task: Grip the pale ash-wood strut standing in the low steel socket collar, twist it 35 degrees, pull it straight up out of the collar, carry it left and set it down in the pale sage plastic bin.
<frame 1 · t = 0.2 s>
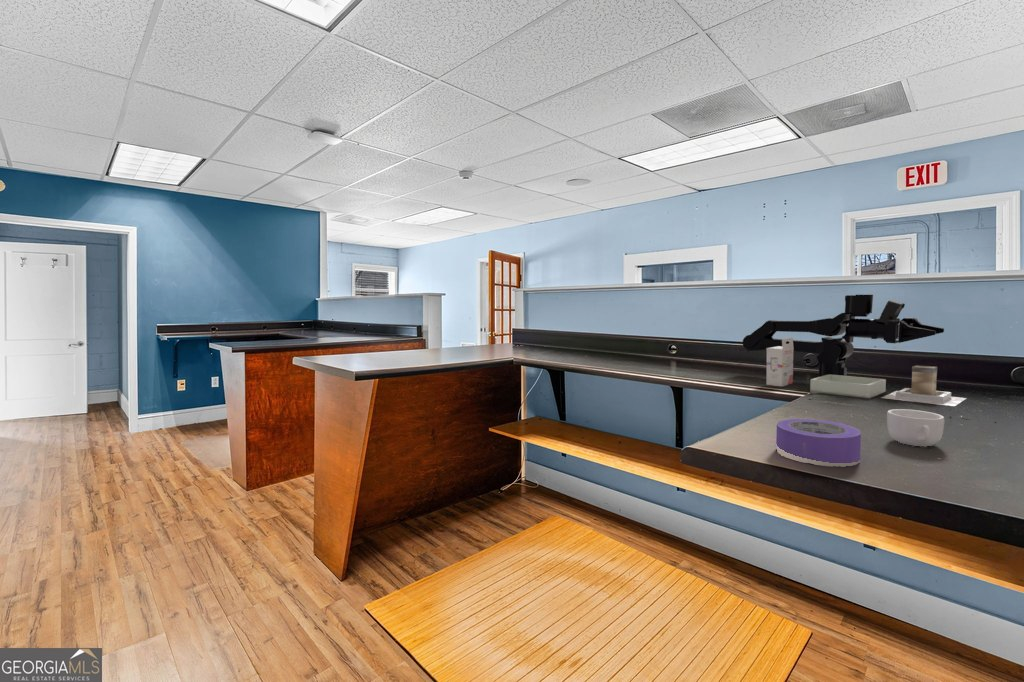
hand: (939, 331, 127), 17 cm above the worktop, tool horizontal, fingers open, 9 cm apart
bin: (847, 393, 129), on the worktop
ink cartridge box: (779, 384, 146), on the worktop
socket collar: (923, 400, 118), on the worktop
tape roll: (816, 457, 78), on the worktop
strut: (923, 397, 118), point 1 cm above the worktop, touching socket collar
teacup: (915, 446, 82), on the worktop
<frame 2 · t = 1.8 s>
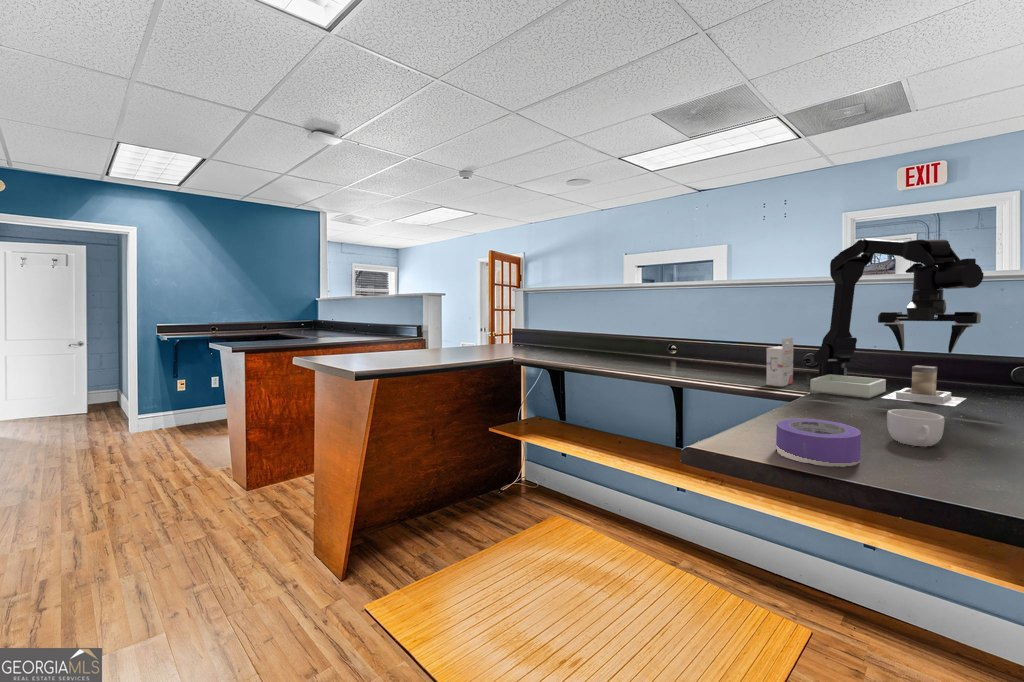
hand: (925, 351, 118), 12 cm above the worktop, tool pointing down, fingers open, 9 cm apart
nothing on the worktop moved.
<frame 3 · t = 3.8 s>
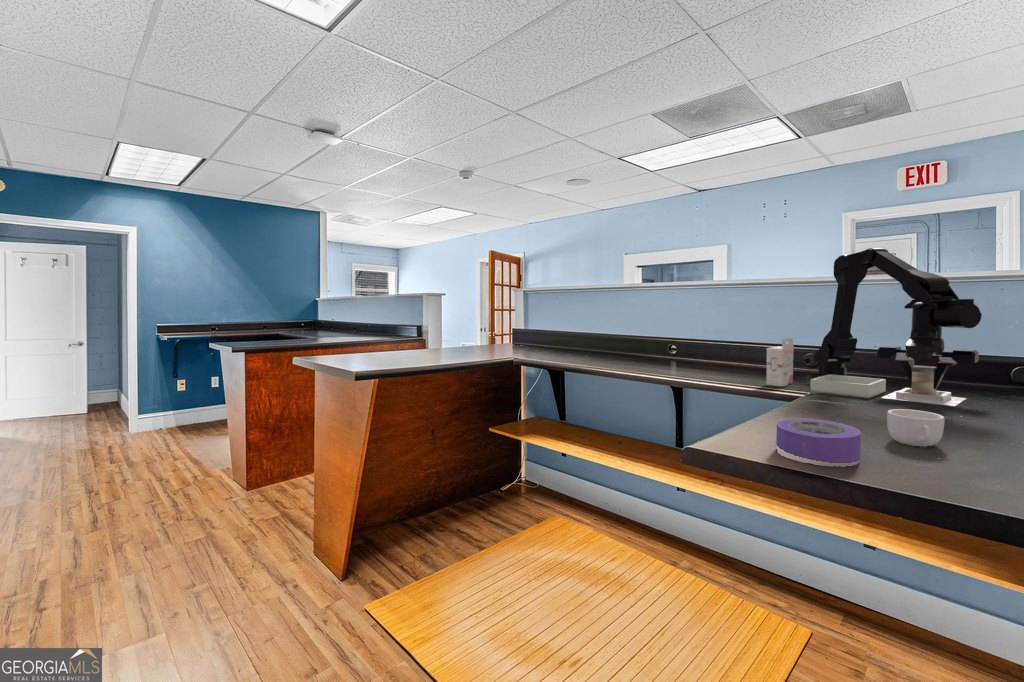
hand: (923, 387, 118), 3 cm above the worktop, tool pointing down, fingers closed on strut, 4 cm apart
strut: (923, 397, 118), point 1 cm above the worktop, touching gripper, socket collar
everything else where it was.
when the fingers open (6 cm above the worktop, at t = 9.5 s): strut drops 2 cm, resting on bin.
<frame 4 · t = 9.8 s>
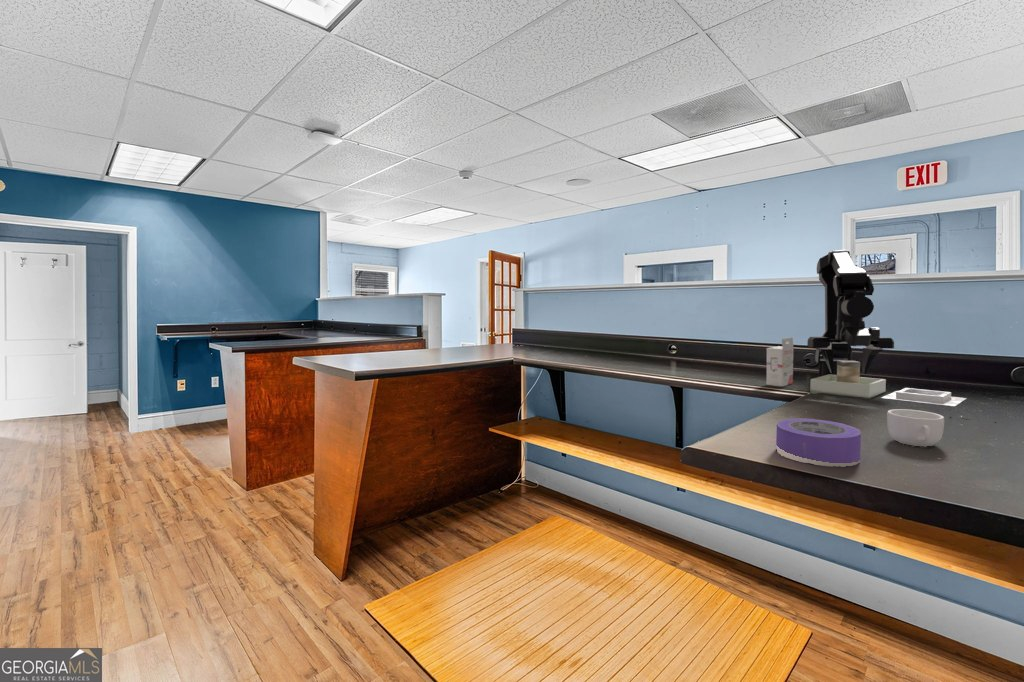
hand: (848, 373, 128), 6 cm above the worktop, tool pointing down, fingers open, 7 cm apart
strut: (847, 390, 129), point 1 cm above the worktop, touching bin
everything else where it was.
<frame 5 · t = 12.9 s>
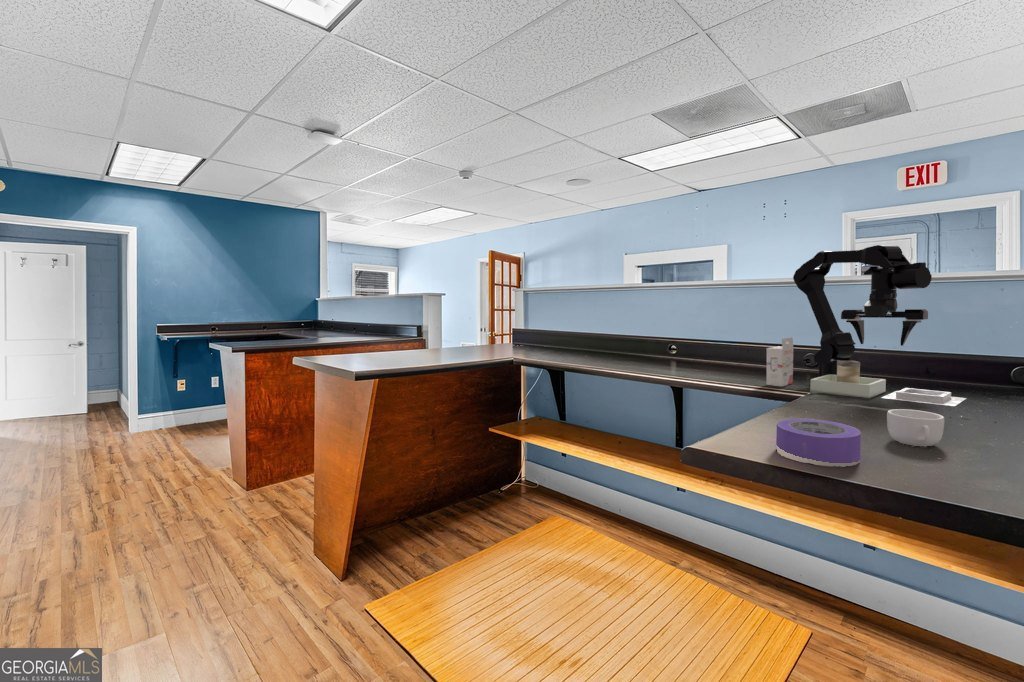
hand: (881, 344, 133), 13 cm above the worktop, tool pointing down, fingers open, 9 cm apart
nothing on the worktop moved.
at the end: strut inside the target area on the bin (0.0 cm from its centre), point 1.0 cm above the bin's base; the gripper is holding nothing; strut moved 15.8 cm from its start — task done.
